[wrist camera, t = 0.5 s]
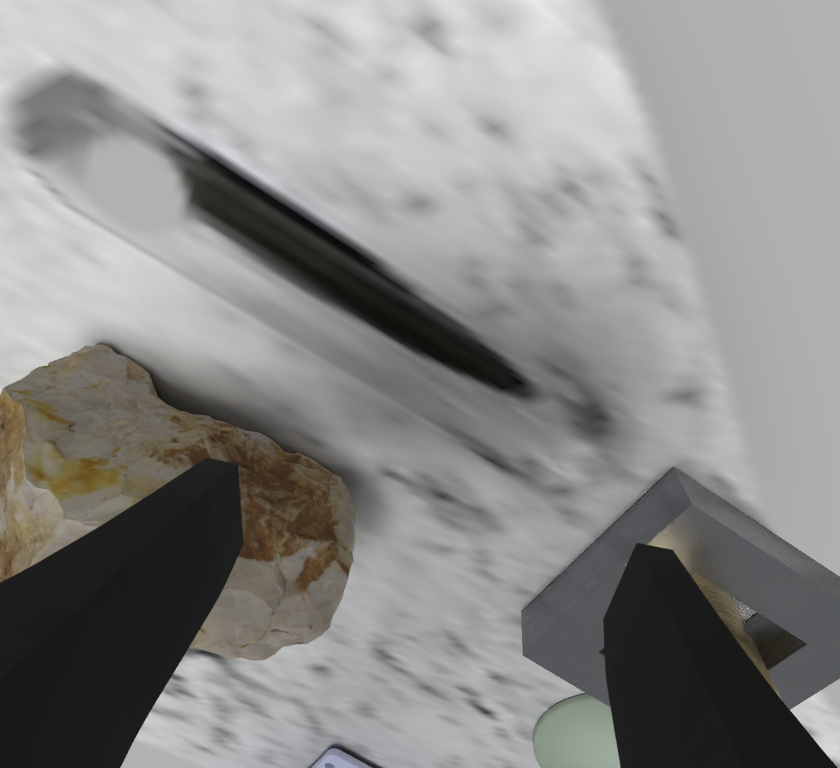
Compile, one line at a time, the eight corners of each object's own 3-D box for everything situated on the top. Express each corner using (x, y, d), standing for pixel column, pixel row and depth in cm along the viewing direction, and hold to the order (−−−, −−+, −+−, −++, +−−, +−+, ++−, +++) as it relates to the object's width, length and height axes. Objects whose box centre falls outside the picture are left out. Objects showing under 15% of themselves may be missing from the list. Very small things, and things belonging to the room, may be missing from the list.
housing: (688, 712, 25) (704, 763, 23) (521, 611, 24) (523, 655, 22) (863, 592, 21) (900, 640, 19) (673, 467, 20) (691, 504, 18)
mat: (618, 810, 28) (620, 819, 28) (504, 744, 27) (504, 753, 27) (724, 744, 25) (727, 753, 25) (598, 669, 24) (600, 677, 24)
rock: (9, 458, 23) (-168, 676, 14) (57, 319, 21) (-113, 470, 12) (290, 536, 27) (291, 738, 18) (350, 428, 25) (382, 596, 17)
